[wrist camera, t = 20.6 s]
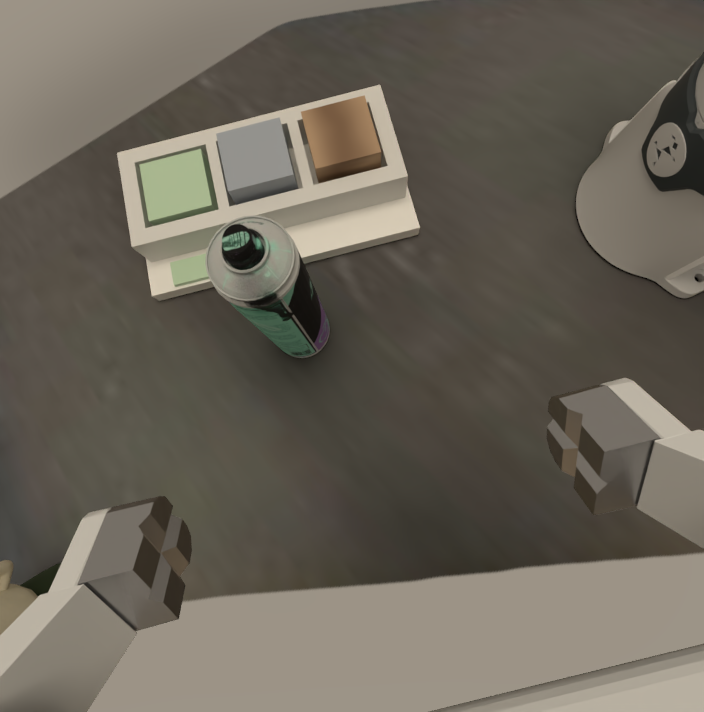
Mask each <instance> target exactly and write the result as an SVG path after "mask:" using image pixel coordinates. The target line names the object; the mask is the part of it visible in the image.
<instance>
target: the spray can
mask: <svg viewBox="0 0 704 712" xmlns="http://www.w3.org/2000/svg"><path fill="white" fill-rule="evenodd" d="M205 265H206V270H207V274H208V276H209V279H210V281H211V282H212V284H213V285H214V287H215V288H216V290H217V291H218V293H219V294H220V295H222V296H223V297H224V298H225V299H226V300H227V301H228V302H229V303H230V304H232V305H233V306H234V307H235V308H236V309H237V310H238V311H239V312H240V313H241V314H243V315H244V316H245V317H246V318H247V319H248V320H249V321H250V322H251V323H253V324H254V325H255V326H256V327H257V328H258V329H259V330H260V331H261V332H262V333H264V334H265V335H266V336H267V337H268V338H269V339H270V340H271V341H272V342H274V343H275V344H276V345H277V346H278V347H279V348H280V349H281V350H282V351H284V352H285V353H286V354H288V355H290V356H293V357H297V358H307V357H310V356H313V355H315V354H317V353H318V352H319V351H321V350H322V349H323V347H324V346H325V345H326V343H327V341H328V338H329V334H330V326H329V322H328V319H327V316H326V314H325V312H324V309H323V307H322V305H321V302H320V300H319V298H318V295H317V293H316V291H315V288H314V286H313V284H312V281H311V279H310V277H309V274H308V272H307V270H306V268H305V265H304V263H303V261H302V258H301V256H300V254H299V251H298V249H297V247H296V245H295V243H294V240H293V239H292V238H291V236H290V235H289V234H288V233H287V231H286V230H285V229H284V228H283V227H282V226H281V225H280V224H279V223H277V222H275V221H274V220H272V219H269V218H266V217H263V216H255V215H252V216H244V217H240V218H236V219H234V220H232V221H230V222H228V223H227V224H225V225H224V226H222V227H221V228H220V229H219V230H218V231H217V232H216V233H215V235H214V236H213V238H212V239H211V241H210V243H209V245H208V248H207V252H206V257H205Z"/></svg>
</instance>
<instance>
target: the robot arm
mask: <svg viewBox="0 0 704 712" xmlns="http://www.w3.org/2000/svg"><path fill="white" fill-rule="evenodd" d="M576 212H577V217H578V221H579V224H580V227H581V229H582V232H583V233H584V235H585V237H586V239H587V240H588V242H589V243H590V245H591V246H592V247H593V248H594V249H595V250H596V251H597V252H598V253H599V254H600V255H601V256H602V257H603V258H604V259H606V260H607V261H608V262H610V263H611V264H613V265H614V266H616V267H618V268H620V269H622V270H624V271H626V272H629V273H632V274H635V275H638V276H641V277H645V278H648V279H651V280H653V281H655V282H656V283H658V284H659V285H660V286H662V287H663V288H664V289H666V290H667V291H668V292H670V293H671V294H673V295H675V296H677V297H679V298H689V297H692V296H694V295H696V294H698V293H700V292H703V291H704V53H703V54H702V55H701V56H700V57H699V58H698V59H696V60H695V61H694V62H693V63H692V64H691V65H690V66H689V67H688V68H687V69H686V70H685V71H684V73H683V74H682V75H681V76H680V77H679V79H678V81H675V80H673V81H671V82H669V83H667V84H666V85H665V86H664V87H662V88H661V89H660V90H659V92H658V93H657V94H656V95H655V96H654V97H653V98H652V99H651V100H650V101H649V102H648V103H647V104H646V105H645V106H644V107H643V108H642V109H641V110H640V111H639V112H638V113H637V114H636V115H635V116H634V117H633V118H632V119H631V120H630V121H622V122H619V123H617V124H616V125H615V126H614V127H613V128H612V129H611V130H610V131H609V132H608V134H607V136H606V139H605V142H604V146H603V150H602V152H601V154H600V155H599V157H598V158H597V159H596V160H595V161H594V162H593V163H592V164H591V166H590V167H589V168H588V169H587V171H586V172H585V174H584V175H583V177H582V179H581V181H580V184H579V187H578V191H577V196H576ZM694 277H697V278H698V282H697V281H696V280H695V278H694ZM548 412H549V413H550V415H551V416H552V417H553V420H552V422H551V423H550V424H549V425H548V427H547V441H548V445H549V449H550V452H551V454H552V456H553V458H554V460H555V462H556V463H557V465H558V466H559V468H560V469H561V471H563V472H565V473H567V474H569V475H571V476H573V477H575V481H574V489H575V491H576V492H577V493H578V495H579V496H580V498H581V499H582V500H583V502H584V503H585V505H586V506H587V507H588V509H589V510H590V512H591V513H592V514H593V516H594V515H598V514H603V513H607V512H612V511H616V510H621V509H625V508H630V507H634V506H637V509H639V510H641V511H642V512H644V513H646V514H647V515H649V516H650V517H652V518H654V519H655V520H657V521H659V522H660V523H662V524H664V525H665V526H667V527H669V528H670V529H672V530H674V531H675V532H677V533H679V534H680V535H682V536H683V537H685V538H687V539H688V540H690V541H692V542H693V543H695V544H697V545H698V546H700V547H702V548H703V549H704V431H702V430H695V431H690V430H689V429H688V428H687V427H686V426H685V425H683V424H682V423H681V422H680V421H679V420H678V419H676V418H675V417H674V416H673V415H672V414H671V413H670V412H668V411H667V410H666V409H665V408H664V407H663V406H661V405H660V404H659V403H658V402H657V401H656V400H654V399H653V398H652V397H651V396H650V395H649V394H648V393H646V392H645V391H644V390H643V389H642V388H641V387H639V386H638V385H637V384H636V383H635V382H634V381H632V380H630V379H627V378H622V379H618V380H614V381H611V382H607V383H603V384H600V385H595V386H591V387H588V388H584V389H580V390H576V391H572V392H568V393H565V394H561V395H557V396H553V397H551V399H550V401H549V405H548ZM172 508H173V505H172V504H171V503H170V502H169V500H168V499H167V498H166V497H165V496H158V497H154V498H150V499H145V500H141V501H136V502H132V503H127V504H123V505H119V506H114V507H112V508H107V509H103V510H98V511H94V512H90V513H88V514H87V515H86V516H85V517H84V518H83V519H82V520H81V522H80V524H79V527H78V529H77V531H76V533H75V535H74V537H73V540H72V542H71V544H70V546H69V548H68V550H67V553H66V555H65V557H64V559H63V561H62V563H61V566H60V568H59V570H58V572H57V574H56V576H55V579H54V581H53V583H52V585H51V587H50V589H49V592H48V593H45V594H42V595H39V596H38V598H37V599H36V600H35V601H34V602H33V603H32V604H31V605H30V606H29V607H28V608H27V609H26V610H25V611H24V612H23V613H22V614H21V615H20V616H19V617H18V618H17V619H16V620H15V621H14V622H13V623H12V624H11V625H10V626H9V627H8V628H7V629H6V630H5V631H4V632H3V633H2V634H1V635H0V712H87V711H88V709H89V708H90V706H91V705H92V703H93V701H94V700H95V698H96V697H97V695H98V694H99V692H100V691H101V689H102V687H103V686H104V684H105V683H106V681H107V680H108V678H109V677H110V675H111V673H112V672H113V670H114V669H115V667H116V666H117V664H118V663H119V661H120V659H121V658H122V656H123V655H124V653H125V652H126V650H127V648H128V647H129V645H130V644H131V642H132V641H133V639H134V638H135V636H136V634H137V632H136V631H138V630H141V629H145V628H148V627H152V626H156V625H159V624H163V623H167V622H170V621H173V620H177V619H179V615H180V610H181V605H182V600H183V594H184V589H185V584H184V582H183V580H182V579H181V577H180V576H181V574H182V573H183V572H184V570H185V569H186V568H187V566H188V565H189V564H190V558H191V552H192V546H191V535H190V532H189V530H188V527H187V525H186V524H185V522H184V521H183V519H181V518H179V517H176V516H174V515H171V512H172ZM430 712H704V644H701V645H697V646H693V647H689V648H685V649H681V650H677V651H673V652H669V653H665V654H661V655H657V656H652V657H649V658H644V659H640V660H636V661H632V662H628V663H624V664H620V665H616V666H612V667H608V668H604V669H600V670H596V671H592V672H588V673H584V674H580V675H576V676H571V677H568V678H563V679H559V680H555V681H551V682H547V683H543V684H539V685H535V686H531V687H527V688H523V689H519V690H515V691H511V692H507V693H503V694H499V695H495V696H490V697H486V698H482V699H479V700H474V701H470V702H466V703H462V704H458V705H454V706H450V707H446V708H442V709H438V710H434V711H430Z"/></svg>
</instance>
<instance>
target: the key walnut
mask: <svg viewBox="0 0 704 712" xmlns="http://www.w3.org/2000/svg"><path fill="white" fill-rule="evenodd" d="M301 115H302V119H303V124H304V128H305V132H306V136H307V141H308V144H309V148H310V152H311V156H312V160H313V164H314V168H315V172H316V176H317V179H318V183H323V182H327V181H331V180H335V179H339V178H343V177H347V176H350V175H354V174H358V173H362V172H366V171H370V170H374V169H378V168H381V150H380V146H379V143H378V139H377V136H376V133H375V129H374V126H373V122H372V119H371V116H370V112H369V109H368V105H367V102H366V99H365V95H364V96H360V97H356V98H352V99H348V100H344V101H340V102H337V103H333V104H329V105H325V106H321V107H317V108H313V109H310V110H306V111H302V112H301Z"/></svg>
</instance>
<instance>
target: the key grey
mask: <svg viewBox="0 0 704 712" xmlns="http://www.w3.org/2000/svg"><path fill="white" fill-rule="evenodd" d="M216 136H217V141H218V146H219V151H220V155H221V160H222V165H223V170H224V174H225V179H226V184H227V189H228V192H229V194H230V195H231V197H232V199H233V200H234V202H235V204H236V205H238V204H242V203H246V202H249V201H253V200H257V199H261V198H265V197H269V196H273V195H277V194H281V193H284V192H288V191H292V190H296V189H299V188H298V184H297V180H296V176H295V172H294V168H293V164H292V160H291V156H290V152H289V148H288V144H287V140H286V137H285V134H284V130H283V127H282V124H281V121H280V117H279V118H275V119H271V120H267V121H263V122H259V123H256V124H252V125H248V126H244V127H240V128H236V129H232V130H229V131H225V132H221V133H217V134H216Z"/></svg>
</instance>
